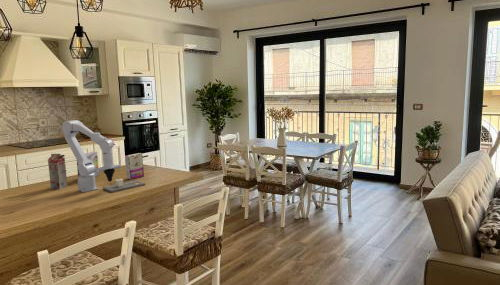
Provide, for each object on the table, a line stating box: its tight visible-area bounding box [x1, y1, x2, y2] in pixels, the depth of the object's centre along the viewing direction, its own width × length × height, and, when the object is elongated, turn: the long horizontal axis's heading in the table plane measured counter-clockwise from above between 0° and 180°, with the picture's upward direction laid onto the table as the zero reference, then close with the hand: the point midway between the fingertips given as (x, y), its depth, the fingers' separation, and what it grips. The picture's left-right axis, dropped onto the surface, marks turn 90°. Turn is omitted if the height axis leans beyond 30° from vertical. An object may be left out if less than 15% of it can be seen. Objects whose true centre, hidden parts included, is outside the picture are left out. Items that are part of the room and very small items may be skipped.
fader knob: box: [115, 178, 124, 187], centre depth 223 cm, size 3×4×4 cm
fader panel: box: [102, 179, 146, 194], centre depth 225 cm, size 22×12×1 cm, turn 136°
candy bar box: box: [124, 152, 145, 180], centre depth 249 cm, size 11×5×16 cm, turn 143°
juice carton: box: [47, 153, 68, 190], centre depth 226 cm, size 7×7×22 cm
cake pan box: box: [76, 151, 100, 179], centre depth 248 cm, size 19×5×18 cm, turn 171°
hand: (110, 181), depth 218 cm, fingers closed
